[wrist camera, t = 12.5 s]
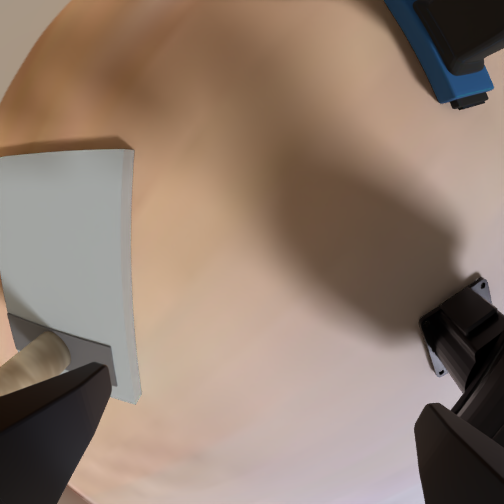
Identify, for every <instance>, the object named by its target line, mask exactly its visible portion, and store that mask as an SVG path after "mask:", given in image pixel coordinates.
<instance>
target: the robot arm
mask: <svg viewBox="0 0 504 504" xmlns="http://www.w3.org/2000/svg"><path fill="white" fill-rule="evenodd" d="M482 283H483V284H482ZM481 284H482V286H481ZM426 321H428V322H427V323H426V324H425V325H424V323H425V322H426ZM419 326H420V329H421V332H422V335H423V337H424V340H425V343H426V346H427V349H428V352H429V355H430V359H431V362H432V365H433V368H434V371H435V374H436V375H437V377H442V376H444V375H445V374H447V373H448V372H449V374H450V375H451V377H452V378H453V380H454V381H455V382H456V384H457V385H458V387H459V388H460V390H461V391H462V393H463V395H462V396H461V397H460V399H459V400H458V401H457V403H456V404H455V405H454V407H453V408H452V409H451V411H450V410H449V409H447V408H446V407H444V406H443V405H442V404H440V403H429V404H427V405H426V406H425V407H424V409H423V411H422V412H421V414H420V416H419V418H418V420H417V421H416V423H415V427H414V433H415V441H416V449H417V457H418V467H419V473H420V479H421V484H422V489H423V494H424V499H425V504H504V315H503V314H502V313H501V312H499V311H498V310H497V308H496V307H495V306H493V305H492V301H491V296H490V291H489V286H488V282H487V280H486V279H484V278H479V279H478V280H476V281H475V282H474V283H472V284H471V285H470V286H468V287H466V288H465V289H463V290H462V291H460V292H459V293H457V294H456V295H455V296H453V297H452V298H450V299H449V300H447V301H446V302H444V303H443V304H442V305H440V306H439V307H437V308H436V309H434V310H433V311H431V312H429V313H428V314H426V315H425V316H423V317H422V318H421V319H420V320H419ZM441 370H442V371H441ZM440 371H441V372H440ZM111 392H112V384H111V379H110V373H109V368H108V366H107V365H105V364H102V363H99V362H91V363H89V364H86V365H83V366H81V367H78V368H76V369H73V370H71V371H68V372H65V373H63V374H60V375H58V376H55V377H52V378H50V379H47V380H44V381H42V382H39V383H36V384H34V385H31V386H28V387H25V388H23V389H20V390H17V391H14V392H11V393H9V394H6V395H3V396H0V504H57V503H58V501H59V499H60V497H61V495H62V493H63V491H64V489H65V487H66V485H67V484H68V482H69V480H70V478H71V476H72V474H73V472H74V470H75V469H76V467H77V465H78V463H79V461H80V459H81V458H82V456H83V454H84V452H85V450H86V448H87V447H88V445H89V443H90V441H91V439H92V437H93V436H94V434H95V431H96V429H97V427H98V424H99V422H100V419H101V417H102V414H103V412H104V410H105V407H106V405H107V403H108V400H109V398H110V396H111Z"/></svg>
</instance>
